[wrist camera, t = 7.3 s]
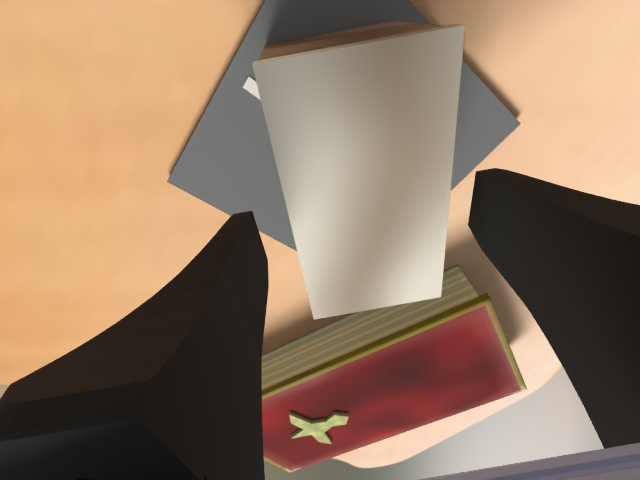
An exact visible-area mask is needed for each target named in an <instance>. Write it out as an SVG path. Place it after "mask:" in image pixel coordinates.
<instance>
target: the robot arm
mask: <svg viewBox="0 0 640 480" xmlns="http://www.w3.org/2000/svg"><path fill="white" fill-rule="evenodd" d="M468 226H469V227H470V229H471V231H472V233H473V235H474V237H475V239H476V241H477V242H478V244H479V246H480V247H481V249H482V250H483V252H484V253H485V254H486V256H487V257H488V258H489V260H490V261H491V262H492V263H493V265H494V266H495V267H496V268H497V270H498V271H499V272H500V274H501V275H502V276H503V277H504V279H505V280H506V281H507V282H508V284H509V285H510V286H511V287H512V289H513V290H514V291H515V292H516V294H517V295H518V296H519V297H520V299H521V300H522V301H523V303H524V304H525V305H526V307H527V308H528V310H529V311H530V312H531V314H532V316H533V317H534V319H535V320H536V322H537V324H538V325H539V327H540V328H541V330H542V332H543V333H544V335H545V336H546V338H547V340H548V341H549V343H550V345H551V347H552V348H553V350H554V352H555V354H556V355H557V357H558V359H559V360H560V362H561V364H562V366H563V367H564V369H565V371H566V373H567V375H568V377H569V379H570V380H571V382H572V384H573V386H574V388H575V390H576V392H577V393H578V396H579V397H580V399H581V401H582V403H583V405H584V407H585V409H586V411H587V413H588V415H589V417H590V420H591V421H592V424H593V426H594V428H595V430H596V432H597V434H598V436H599V438H600V440H601V442H602V444H603V447H604V449H600V450H594V451H588V452H582V453H576V454H570V455H563V456H557V457H551V458H546V459H539V460H534V461H528V462H521V463H515V464H509V465H503V466H497V467H491V468H486V469H479V470H473V471H468V472H461V473H456V474H450V475H443V476H438V477H431V478H425V479H419V480H640V205H636V204H631V203H626V202H621V201H617V200H612V199H608V198H604V197H600V196H596V195H592V194H588V193H584V192H581V191H577V190H574V189H570V188H567V187H563V186H560V185H556V184H553V183H550V182H546V181H543V180H540V179H536V178H533V177H530V176H526V175H523V174H519V173H515V172H512V171H508V170H503V169H498V168H493V169H487V170H482V171H476V175H475V182H474V189H473V196H472V202H471V209H470V216H469V223H468ZM267 296H268V259H267V256H266V253H265V250H264V247H263V243H262V240H261V237H260V234H259V231H258V227H257V224H256V221H255V218H254V215H253V211H247V212H241V213H235V214H233V215H232V216H231V217H230V218H229V219H228V220H227V221H226V223H225V224H224V225H223V226H222V227H221V229H220V230H219V231H218V232H217V233H216V234H215V236H214V237H213V238H212V239H211V240H210V241H209V243H208V244H207V245H206V246H205V247H204V248H203V249H202V250H201V251H200V253H199V254H198V255H197V256H196V257H195V258H194V259H193V260H192V261H191V262H190V263H189V264H188V265H187V266H186V267H185V268H184V269H183V270H182V271H181V272H180V273H179V274H178V275H177V276H176V277H175V278H174V279H172V280H171V281H170V282H169V283H168V284H167V285H166V286H164V287H163V288H162V289H161V290H160V291H159V292H157V293H156V294H155V295H154V296H152V297H151V298H150V299H149V300H147V301H146V302H144V303H143V304H142V305H140V306H139V307H138V308H136V309H135V310H134V311H132V312H131V313H130V314H128V315H127V316H125V317H124V318H123V319H121V320H120V321H118V322H117V323H116V324H114V325H113V326H111V327H109V328H108V329H106V330H105V331H103V332H102V333H100V334H99V335H97V336H96V337H94V338H92V339H91V340H89V341H87V342H86V343H84V344H83V345H81V346H79V347H78V348H76V349H74V350H72V351H71V352H69V353H67V354H66V355H64V356H62V357H60V358H58V359H56V360H55V361H53V362H51V363H49V364H47V365H46V366H44V367H42V368H40V369H38V370H36V371H35V372H33V373H31V374H29V375H27V376H25V377H24V378H22V379H20V380H18V381H16V382H14V383H12V384H11V385H10V386H9V387H8V388H7V390H6V391H5V393H4V394H3V396H2V397H1V398H0V480H265V476H264V455H263V427H262V343H263V334H264V325H265V315H266V306H267Z"/></svg>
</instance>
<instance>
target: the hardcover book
mask: <svg viewBox="0 0 640 480" xmlns="http://www.w3.org/2000/svg"><path fill="white" fill-rule="evenodd" d="M526 389H527V388H526V385H525V383H524V380H523V378H522V375H521V373H520V370H519V368H518V365H517V363H516V360H515V358H514V356H513V353H512V351H511V348H510V346H509V343H508V341H507V338H506V336H505V333H504V331H503V328H502V326H501V323H500V321H499V318H498V316H497V313H496V311H495V309H494V306H493V304H492V301H491V299H490V297H489V296H488V294H487V293H486V294H483V295H481V296H479V295H478V294H477V292H476V291H475V289H474V288H473V286H472V285H471V283H470V282H469V280H468V279H467V277H466V276H465V274H464V273H463V271H462V270H461V268H460V267H459V265H456V266H454V267H452V268H450V269H448V270H445V271H443V281H442V292H441V297H439V298H433V299H428V300H422V301H416V302H411V303H405V304H399V305H394V306H388V307H382V308H377V309H371V310H366V311H360V312H355V313H353V314H350V315H348V316H346V317H344V318H342V319H340V320H337V321H335V322H333V323H331V324H329V325H327V326H324V327H322V328H320V329H318V330H316V331H314V332H311V333H309V334H307V335H305V336H303V337H301V338H299V339H296V340H294V341H292V342H290V343H288V344H286V345H283V346H281V347H279V348H277V349H275V350H273V351H270V352H268V353H266V354H264V355H262V427H263V455H264V460H265V461H267V462H269V463H271V464H273V465H275V466H277V467H279V468H280V469H282V470H284V471H286V472H288V473H289V472H292V471H295V470H298V469H300V468H303V467H306V466H309V465H312V464H315V463H318V462H320V461H323V460H326V459H329V458H332V457H335V456H338V455H340V454H343V453H346V452H349V451H352V450H355V449H358V448H360V447H363V446H366V445H369V444H372V443H375V442H378V441H380V440H383V439H386V438H389V437H392V436H395V435H398V434H400V433H403V432H406V431H409V430H412V429H415V428H418V427H420V426H423V425H426V424H429V423H432V422H435V421H438V420H440V419H443V418H446V417H449V416H452V415H455V414H458V413H460V412H463V411H466V410H469V409H472V408H475V407H478V406H480V405H483V404H486V403H489V402H492V401H495V400H498V399H500V398H503V397H506V396H509V395H512V394H515V393H518V392H520V391H523V390H526Z"/></svg>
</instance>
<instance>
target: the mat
mask: <svg viewBox="0 0 640 480" xmlns="http://www.w3.org/2000/svg"><path fill="white" fill-rule="evenodd" d="M390 21H397V22H407V23H417V24H427V25H430V24H429V23H428V22H427V20H426V19H425V18H424V17H423V16H422V15H421V14H420V13H419V12H418V11H417V10H416V8H415V7H414V6H413V5H412V4H411V3H410V2H409V1H408V0H265V1H264V3H263V5H262V7H261V9H260V11H259V13H258V14H257V16H256V18H255V20H254V22H253V24H252V25H251V27H250V29H249V31H248V33H247V35H246V37H245V38H244V40H243V42H242V44H241V46H240V48H239V49H238V51H237V53H236V55H235V57H234V59H233V61H232V62H231V64H230V66H229V68H228V70H227V72H226V73H225V75H224V77H223V79H222V81H221V83H220V85H219V86H218V88H217V90H216V92H215V94H214V96H213V97H212V99H211V101H210V103H209V105H208V107H207V109H206V110H205V112H204V114H203V116H202V118H201V120H200V121H199V123H198V125H197V127H196V129H195V131H194V133H193V134H192V136H191V138H190V140H189V142H188V144H187V146H186V147H185V149H184V151H183V153H182V155H181V157H180V158H179V160H178V162H177V164H176V166H175V168H174V170H173V171H172V173H171V175H170V177H169V179H168V181H167V182H169V183H171V184H172V185H174V186H176V187H178V188H180V189H182V190H184V191H186V192H187V193H189V194H191V195H193V196H195V197H197V198H199V199H201V200H202V201H204V202H206V203H208V204H210V205H212V206H214V207H215V208H217V209H219V210H221V211H223V212H225V213H227V214H229V215H230V216H232V215H233V214H235V213H241V212H247V211H253V215H254V218H255V221H256V224H257V227H258V230H259V231H260V232H262V233H264V234H266V235H268V236H270V237H272V238H274V239H275V240H277V241H279V242H281V243H283V244H285V245H287V246H288V247H290V248H292V249H294V250H296V251H297V248H296V244H295V240H294V236H293V232H292V227H291V223H290V219H289V215H288V211H287V207H286V203H285V198H284V194H283V190H282V186H281V182H280V178H279V174H278V170H277V165H276V161H275V157H274V153H273V149H272V145H271V141H270V136H269V132H268V128H267V124H266V120H265V116H264V112H263V108H262V103H261V99H260V95H259V91H258V87H257V83H256V79H255V74H254V70H253V66H252V64H253V62H254V61H258V59H259V57H260V55H261V52H262V50H263V48H264V46H265V45H266V44H272V43H277V42H282V41H288V40H293V39H298V38H304V37H309V36H315V35H320V34H325V33H331V32H336V31H342V30H347V29H352V28H358V27H363V26H369V25H374V24H379V23H385V22H390ZM520 124H521V123H520V122H519V121H518V120H517V119H516V118H515V117H514V116H513V115H512V113H511V112H510V111H509V110H508V109H507V108H506V107H505V106H504V105H503V104H502V103H501V101H500V100H499V99H498V98H497V97H496V96H495V95H494V94H493V93H492V92H491V91H490V89H489V88H488V87H487V86H486V85H485V84H484V83H483V82H482V81H481V80H480V78H479V77H478V76H477V75H476V74H475V73H474V72H473V71H472V70H471V69H470V68H469V66H468V65H467V64H466V63H465V62H464V61H463V60H462V67H461V78H460V89H459V101H458V112H457V123H456V134H455V146H454V157H453V168H452V179H451V190H452V189H453V188H454V187H455V186H456V185H457V184H458V183H460V182H461V181H462V180H463V179H464V178H465V177H466V176H467V175H468V174H469V173H470V172H471V171H472V170H473V169H474V168H475V167H476V166H477V165H478V164H479V163H480V162H481V161H482V160H483V159H484V158H486V157H487V156H488V155H489V154H490V153H491V152H492V151H493V150H494V149H495V148H496V147H497V146H498V145H499V144H500V143H501V142H502V141H503V140H504V139H505V138H506V137H507V136H508V135H509V134H510V133H512V132H513V131H514V130H515V129H516V128H517V127H518V126H519V125H520Z"/></svg>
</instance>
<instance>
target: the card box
mask: <svg viewBox="0 0 640 480" xmlns="http://www.w3.org/2000/svg"><path fill="white" fill-rule="evenodd" d="M464 33H465V25H458V24H453V25H447V26H438V25H427V24H417V23H407V22H397V21H390V22H385V23H379V24H374V25H369V26H363V27H358V28H352V29H347V30H342V31H336V32H331V33H325V34H320V35H315V36H309V37H304V38H298V39H293V40H288V41H282V42H277V43H272V44H266V45H265V46H264V48H263V50H262V52H261V55H260V57H259V59H258V61H254V62H253V64H252V66H253V70H254V74H255V79H256V83H257V87H258V91H259V95H260V99H261V103H262V108H263V112H264V116H265V120H266V124H267V128H268V132H269V136H270V141H271V145H272V149H273V153H274V157H275V161H276V165H277V170H278V174H279V178H280V182H281V186H282V190H283V194H284V198H285V203H286V207H287V211H288V215H289V219H290V223H291V227H292V232H293V236H294V240H295V244H296V248H297V252H298V256H299V260H300V265H301V269H302V273H303V277H304V281H305V285H306V289H307V294H308V298H309V302H310V306H311V310H312V314H313V318H314V320H315V319H320V318H326V317H332V316H337V315H343V314H349V313H354V312H360V311H366V310H371V309H377V308H382V307H388V306H394V305H399V304H405V303H411V302H416V301H422V300H428V299H433V298H439V297H441V292H442V281H443V269H444V258H445V247H446V236H447V224H448V213H449V202H450V191H451V179H452V168H453V157H454V146H455V134H456V123H457V112H458V101H459V89H460V78H461V67H462V56H463V44H464Z"/></svg>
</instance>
